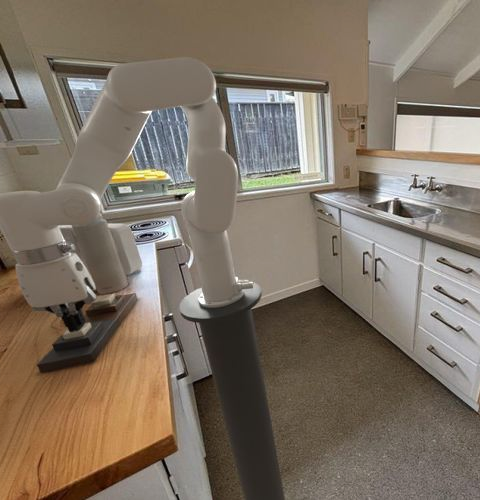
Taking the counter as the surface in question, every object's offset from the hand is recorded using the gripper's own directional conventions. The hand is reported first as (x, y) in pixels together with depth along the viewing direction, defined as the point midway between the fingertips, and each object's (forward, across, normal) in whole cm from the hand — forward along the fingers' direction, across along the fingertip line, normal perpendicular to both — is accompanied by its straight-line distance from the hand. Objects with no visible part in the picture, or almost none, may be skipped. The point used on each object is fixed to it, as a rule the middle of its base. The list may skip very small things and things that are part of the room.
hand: (77, 327), depth 64 cm
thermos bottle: (+6, +6, -33) cm, 34 cm away
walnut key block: (+5, 0, -14) cm, 15 cm away
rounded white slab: (+5, +15, -50) cm, 52 cm away
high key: (+2, 0, 0) cm, 2 cm away
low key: (+2, 0, -14) cm, 14 cm away
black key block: (+5, 0, 0) cm, 5 cm away
